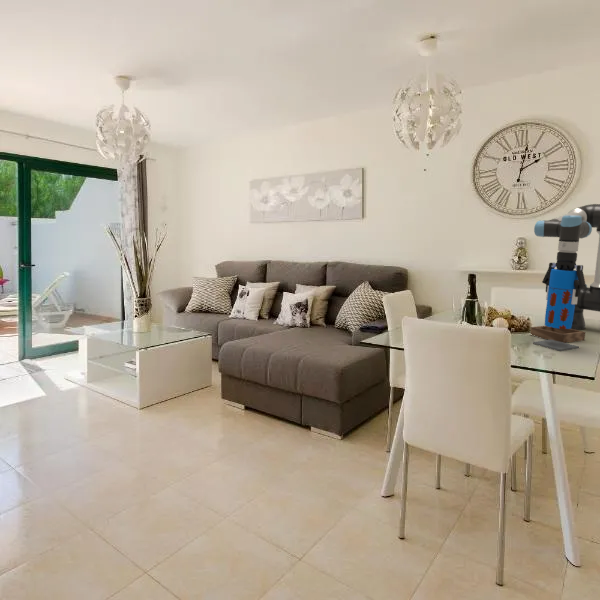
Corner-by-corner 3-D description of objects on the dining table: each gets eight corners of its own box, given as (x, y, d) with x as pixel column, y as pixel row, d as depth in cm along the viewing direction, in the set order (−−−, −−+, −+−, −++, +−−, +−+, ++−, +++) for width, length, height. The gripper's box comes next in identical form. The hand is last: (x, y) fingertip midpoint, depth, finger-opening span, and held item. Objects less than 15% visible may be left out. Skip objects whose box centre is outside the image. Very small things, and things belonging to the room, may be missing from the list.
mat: (551, 341, 211) (551, 339, 211) (578, 348, 200) (579, 346, 200) (532, 343, 205) (533, 342, 205) (560, 351, 194) (560, 349, 194)
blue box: (575, 329, 194) (583, 271, 190) (548, 328, 197) (556, 270, 192) (566, 324, 205) (573, 269, 201) (540, 322, 207) (547, 268, 203)
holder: (551, 332, 229) (552, 324, 229) (584, 340, 215) (585, 331, 214) (530, 335, 222) (531, 327, 221) (562, 343, 207) (563, 334, 207)
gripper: (537, 250, 204) (531, 298, 208) (589, 253, 184) (582, 307, 187) (547, 250, 207) (542, 297, 211) (600, 253, 187) (593, 306, 190)
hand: (561, 302), depth 199 cm, fingers closed on blue box, 11 cm apart
